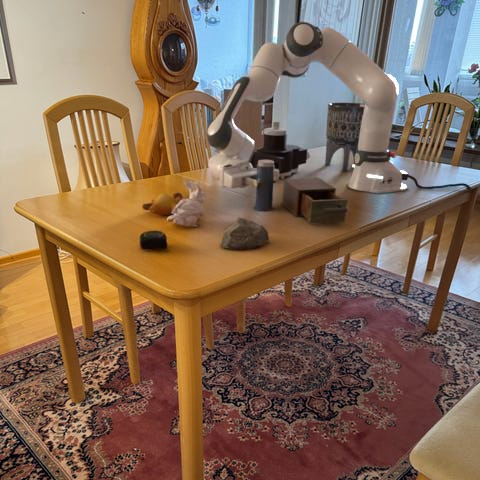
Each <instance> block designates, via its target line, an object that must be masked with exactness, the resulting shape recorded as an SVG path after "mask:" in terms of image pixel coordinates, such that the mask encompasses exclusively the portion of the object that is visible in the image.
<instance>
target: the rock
mask: <svg viewBox="0 0 480 480" xmlns="http://www.w3.org/2000/svg"><path fill="white" fill-rule="evenodd" d="M269 241H270V237H269V231H268V230H267V229H266V228H265V227H264V225H262V224H259V223H257V222H255V221H253V220H247V219H245V218H242V217H237V218H236V220H234V222H233V223H232V224H231V225H230V226H228V228H227V229H226V230H224V232H223V236H222V238H221V242H220V243H221V247H223V248H224V249H230V250H232V251H244V250H248V249H249V250H250V249H256V248H259V246H261V245H264V244H265V243H266V242H269Z"/></svg>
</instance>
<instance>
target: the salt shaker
mask: <svg viewBox="0 0 480 480" xmlns="http://www.w3.org/2000/svg"><path fill="white" fill-rule="evenodd" d="M274 168H275V165H274V161H272V160H259V161H258V164H257V178H256V179H258V180H260V186H255V206H254V208H255V210H258V211H271V210H272V209H273V199H274V184H275V183H274Z"/></svg>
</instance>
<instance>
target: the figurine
mask: <svg viewBox="0 0 480 480" xmlns="http://www.w3.org/2000/svg"><path fill="white" fill-rule="evenodd" d="M183 183H184V186H185V187H186V188H187V190H188V191H189V198H182V200H181V201H180V202H179V203H178V204H177V205H176V206H175V208H174V210H173V211H172V214H171V215H168V217H167V218H166V221H167V223H171V222H173V223H174V224H175V225H176V224H178V225H180V226H184V227H198V225H197V224H196V223H197V221H198V220H199V219H200V217H202V218H203V217H204V216H205V214H206V213H205V210H204V204H203V203H204V202H205V197H206V195H207V193H206V192H205V191H202V185H201V184H200V183H199V182H197V181H196V180H193V181H191V180H189V179H187V178H185V180H183ZM195 188H196V189H195Z"/></svg>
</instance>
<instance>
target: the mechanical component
mask: <svg viewBox="0 0 480 480" xmlns="http://www.w3.org/2000/svg"><path fill="white" fill-rule="evenodd" d="M280 124H281V123H280V121H272V124H271V125H272V126H271V127H266V128H264V129H263V146H259V147H257V148H256V151H254V154H253V156H252V159H251V161H250V162H249V163H250V164H251V165H252V166H253V168H257V164H258V161H259V160H272V161H274V165H275V168H274V169H278V170H279V179H280V180H284V179H285V177H288V176H289V177H290V176H291V175H292V174H293V173H294V174H297V173H298V172H299V166H301V165H305V164H307V160H309V159H310V157H311V155H310V154H311V153H310V152H309V151H308V149H307V148H301V147H300V146H299V145H294V144H287V140H288V138H287V137H288V129H287V128H282V127H280Z"/></svg>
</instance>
